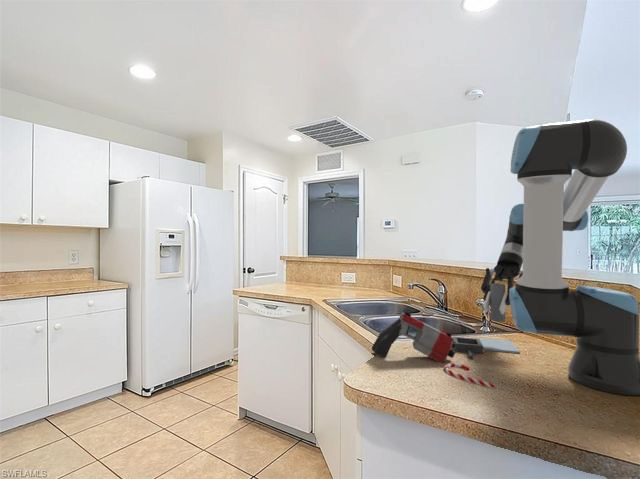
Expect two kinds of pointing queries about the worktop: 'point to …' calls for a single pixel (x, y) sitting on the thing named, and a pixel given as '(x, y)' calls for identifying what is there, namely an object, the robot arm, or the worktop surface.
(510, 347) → the slate mat
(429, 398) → the worktop surface
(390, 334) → the toy gun
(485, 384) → the candy cane
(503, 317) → the rod
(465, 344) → the grey recessed block
